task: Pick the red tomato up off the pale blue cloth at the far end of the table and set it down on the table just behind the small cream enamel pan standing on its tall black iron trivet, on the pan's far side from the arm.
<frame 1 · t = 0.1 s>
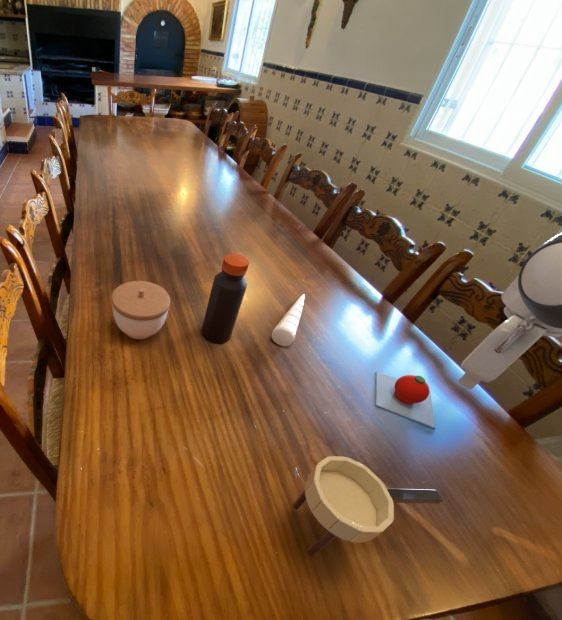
hand: (479, 372, 55), 17 cm above the table, tool pointing down, fingers open, 8 cm apart
pan: (341, 503, 46), on the table
lidded bowl: (138, 329, 83), on the table
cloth: (402, 398, 71), on the table
tomato: (404, 397, 71), resting on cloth
unicorn horn: (289, 320, 88), on the table
bottle: (215, 334, 83), on the table
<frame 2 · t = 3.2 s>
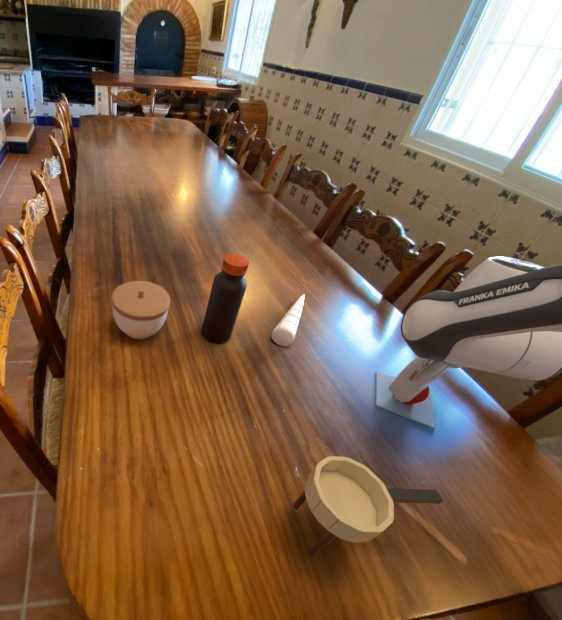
hand: (409, 391, 70), 2 cm above the table, tool pointing down, fingers closed on tomato, 5 cm apart
tomato: (403, 397, 71), resting on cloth, touching gripper
everything else where it was.
when the fingers open (2 cm above the table, at t = 12.6 s): tomato stays where it is, on the table.
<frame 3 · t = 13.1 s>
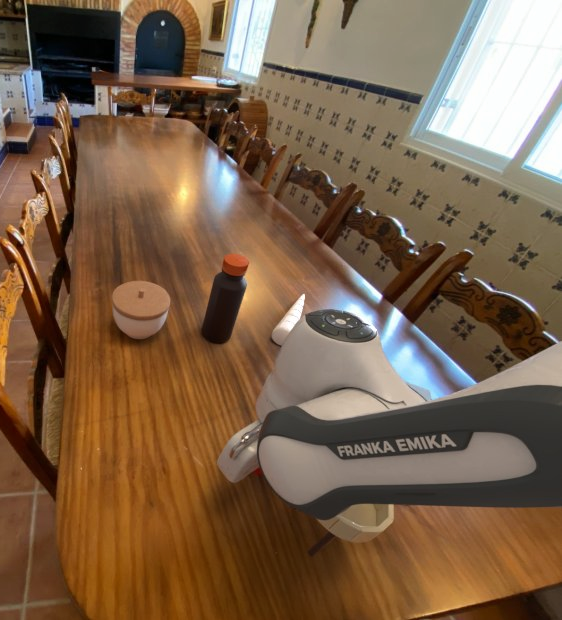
hand: (262, 459, 57), 2 cm above the table, tool pointing down, fingers open, 8 cm apart
tomato: (256, 464, 59), on the table
everything else where it was.
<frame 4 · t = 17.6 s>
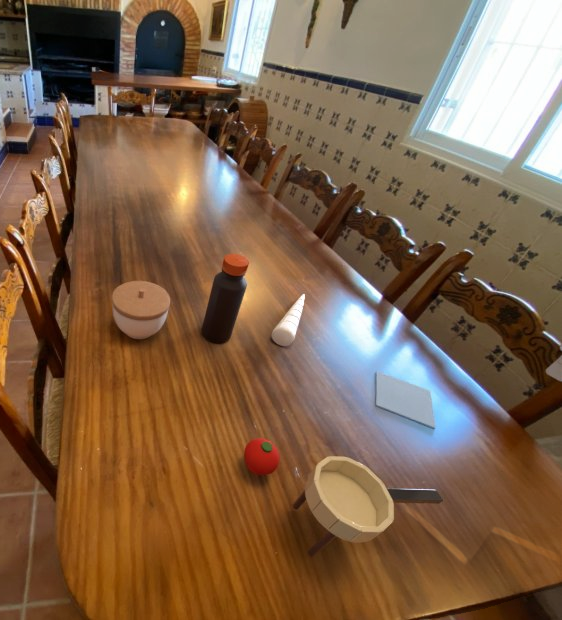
nothing on the table moved.
at the end: tomato inside the target area under the pan (1.8 cm from its centre), point -9.0 cm above the pan's base; the gripper is holding nothing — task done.
